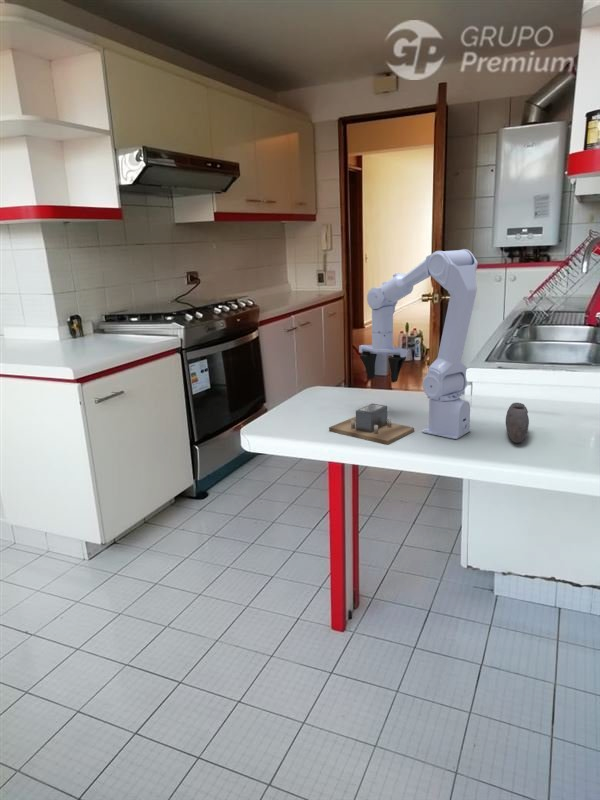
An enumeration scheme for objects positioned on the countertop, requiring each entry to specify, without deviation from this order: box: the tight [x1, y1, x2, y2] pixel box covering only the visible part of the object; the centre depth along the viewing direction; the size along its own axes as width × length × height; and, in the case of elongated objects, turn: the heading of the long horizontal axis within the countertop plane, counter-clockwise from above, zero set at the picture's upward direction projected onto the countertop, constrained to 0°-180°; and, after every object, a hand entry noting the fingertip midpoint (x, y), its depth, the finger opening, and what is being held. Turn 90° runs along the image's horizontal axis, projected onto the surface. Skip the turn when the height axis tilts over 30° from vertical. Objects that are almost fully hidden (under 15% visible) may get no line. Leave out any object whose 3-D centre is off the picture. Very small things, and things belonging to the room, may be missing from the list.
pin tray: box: [328, 416, 415, 446], centre depth 144 cm, size 18×12×3 cm, turn 48°
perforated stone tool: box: [505, 402, 530, 444], centre depth 134 cm, size 15×5×7 cm, turn 159°
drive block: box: [355, 403, 388, 433], centre depth 143 cm, size 4×8×5 cm, turn 142°
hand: (382, 380), depth 157 cm, fingers open, 7 cm apart
